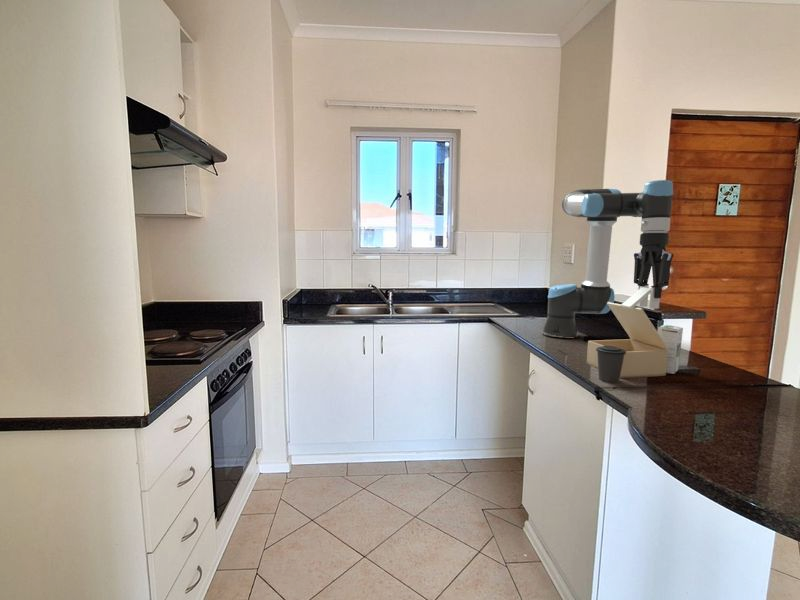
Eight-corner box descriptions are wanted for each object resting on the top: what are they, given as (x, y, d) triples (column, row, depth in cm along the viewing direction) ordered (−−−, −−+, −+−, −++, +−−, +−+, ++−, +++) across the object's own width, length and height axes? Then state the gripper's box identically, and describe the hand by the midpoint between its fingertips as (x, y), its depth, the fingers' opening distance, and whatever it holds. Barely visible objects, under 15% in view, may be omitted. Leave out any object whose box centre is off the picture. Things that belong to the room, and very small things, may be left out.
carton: (586, 363, 136) (588, 340, 135) (628, 361, 139) (630, 339, 138) (618, 378, 120) (620, 352, 119) (665, 375, 123) (667, 350, 122)
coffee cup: (630, 383, 115) (633, 350, 114) (605, 384, 114) (607, 351, 113) (612, 375, 123) (614, 343, 122) (588, 376, 122) (590, 344, 121)
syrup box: (657, 367, 132) (661, 324, 130) (679, 371, 128) (683, 326, 126) (653, 370, 128) (657, 326, 126) (675, 374, 124) (679, 329, 122)
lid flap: (604, 301, 134) (624, 285, 134) (630, 340, 137) (649, 323, 138) (637, 308, 119) (660, 289, 119) (666, 351, 122) (687, 332, 122)
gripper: (624, 233, 130) (618, 304, 133) (665, 230, 113) (658, 311, 116) (644, 234, 131) (639, 303, 134) (689, 231, 115) (681, 311, 117)
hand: (648, 307), depth 125 cm, fingers closed on lid flap, 4 cm apart
